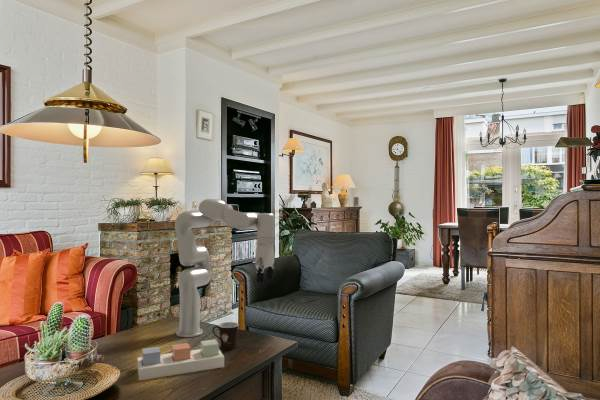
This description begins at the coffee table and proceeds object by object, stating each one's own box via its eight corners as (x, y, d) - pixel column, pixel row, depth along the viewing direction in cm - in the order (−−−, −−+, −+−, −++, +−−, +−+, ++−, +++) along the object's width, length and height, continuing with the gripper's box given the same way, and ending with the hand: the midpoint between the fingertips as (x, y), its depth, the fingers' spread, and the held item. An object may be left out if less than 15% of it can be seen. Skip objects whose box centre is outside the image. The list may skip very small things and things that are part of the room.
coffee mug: (242, 347, 181) (242, 324, 181) (226, 352, 175) (226, 329, 175) (226, 341, 189) (226, 319, 189) (210, 345, 183) (211, 323, 183)
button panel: (137, 368, 157) (137, 357, 157) (217, 356, 170) (217, 346, 170) (139, 380, 146) (139, 369, 147) (224, 366, 159) (224, 356, 159)
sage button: (200, 353, 164) (200, 341, 165) (215, 351, 167) (215, 339, 167) (203, 358, 159) (203, 346, 159) (218, 356, 162) (218, 343, 162)
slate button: (142, 361, 155) (142, 348, 155) (158, 359, 158) (158, 346, 158) (143, 367, 150) (143, 354, 150) (160, 365, 152) (160, 351, 152)
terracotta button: (172, 357, 160) (172, 344, 160) (187, 355, 162) (187, 342, 162) (174, 363, 154) (174, 349, 155) (190, 360, 157) (190, 347, 157)
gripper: (266, 239, 189) (265, 276, 189) (248, 242, 173) (248, 283, 173) (281, 240, 186) (280, 277, 186) (265, 243, 170) (264, 284, 170)
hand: (265, 280), depth 179 cm, fingers open, 9 cm apart
